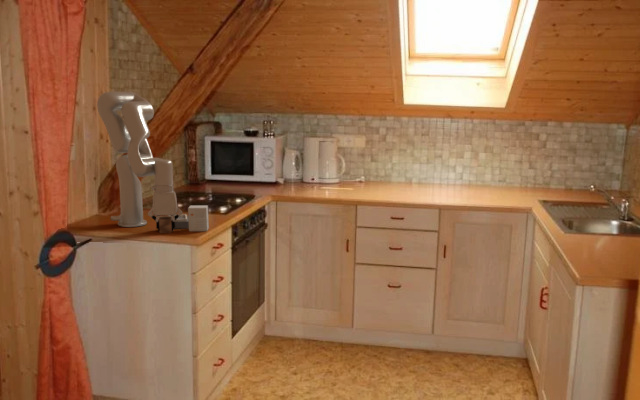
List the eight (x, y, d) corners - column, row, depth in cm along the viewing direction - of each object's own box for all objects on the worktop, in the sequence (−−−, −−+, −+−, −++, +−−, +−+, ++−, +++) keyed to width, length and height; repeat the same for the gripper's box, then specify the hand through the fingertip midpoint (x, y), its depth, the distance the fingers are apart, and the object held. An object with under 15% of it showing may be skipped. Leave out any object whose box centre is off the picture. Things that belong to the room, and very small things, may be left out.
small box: (208, 228, 271) (208, 205, 269) (207, 231, 266) (206, 207, 264) (190, 228, 271) (190, 205, 269) (188, 231, 265) (187, 207, 263)
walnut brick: (159, 233, 261) (159, 219, 260) (160, 229, 268) (159, 216, 267) (171, 232, 262) (171, 219, 261) (171, 229, 269) (171, 215, 268)
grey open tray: (166, 229, 269) (165, 220, 268) (166, 223, 280) (166, 214, 280) (189, 228, 271) (189, 219, 270) (188, 222, 283) (188, 213, 282)
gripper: (143, 190, 256) (144, 233, 260) (184, 189, 260) (186, 231, 263) (144, 187, 263) (145, 229, 267) (184, 186, 267) (185, 227, 270)
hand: (165, 229), depth 265 cm, fingers closed on walnut brick, 4 cm apart
